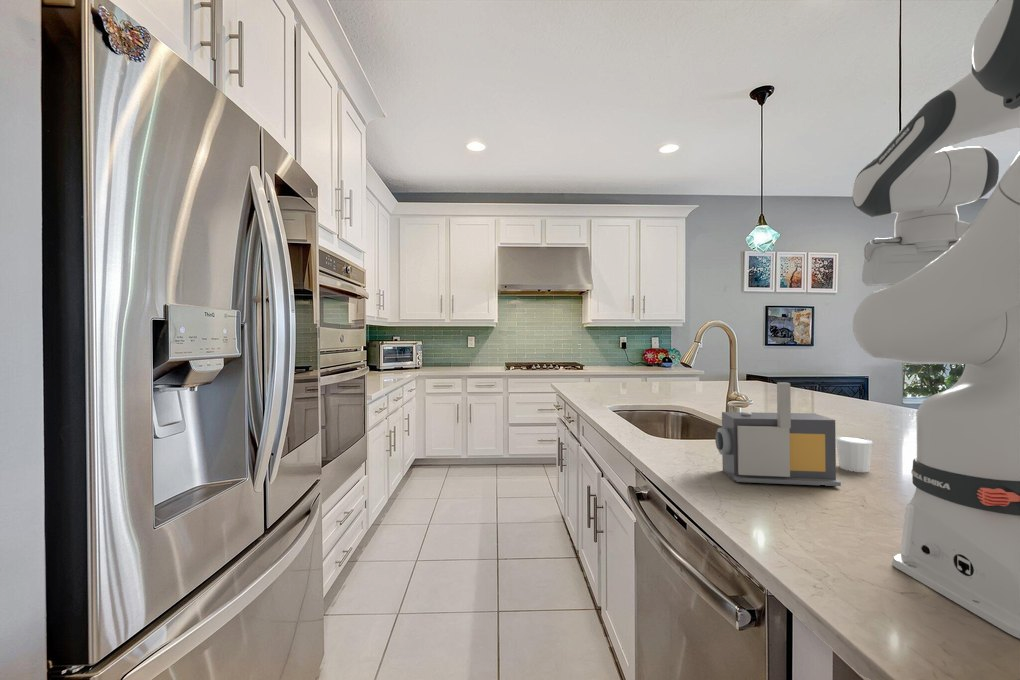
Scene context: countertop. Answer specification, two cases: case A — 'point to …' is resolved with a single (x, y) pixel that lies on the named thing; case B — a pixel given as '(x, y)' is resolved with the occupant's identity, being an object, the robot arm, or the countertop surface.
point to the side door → (767, 442)
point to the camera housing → (807, 448)
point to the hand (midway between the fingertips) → (926, 307)
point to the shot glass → (854, 453)
